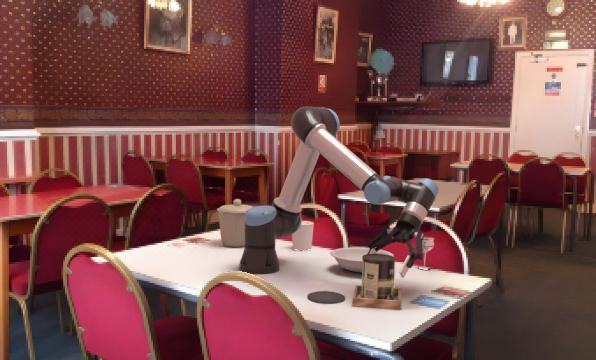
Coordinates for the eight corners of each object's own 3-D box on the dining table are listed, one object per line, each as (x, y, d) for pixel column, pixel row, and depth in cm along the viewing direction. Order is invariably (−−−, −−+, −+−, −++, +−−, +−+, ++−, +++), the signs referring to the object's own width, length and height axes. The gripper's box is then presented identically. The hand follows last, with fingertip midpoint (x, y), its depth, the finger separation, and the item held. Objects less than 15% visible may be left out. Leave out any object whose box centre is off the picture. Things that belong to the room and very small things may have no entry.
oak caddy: (352, 306, 175) (352, 298, 175) (355, 292, 190) (355, 285, 189) (400, 309, 173) (401, 301, 173) (400, 295, 187) (400, 288, 187)
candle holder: (313, 251, 251) (313, 224, 250) (290, 251, 251) (291, 224, 250) (312, 247, 261) (313, 221, 259) (291, 246, 261) (291, 220, 260)
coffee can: (394, 297, 185) (396, 254, 184) (392, 307, 175) (394, 261, 174) (362, 295, 187) (363, 252, 186) (359, 304, 177) (360, 259, 176)
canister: (232, 251, 248) (232, 202, 246) (208, 244, 261) (209, 198, 259) (264, 246, 260) (265, 200, 258) (240, 239, 273) (241, 195, 271)
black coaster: (304, 302, 178) (304, 300, 178) (310, 291, 190) (310, 289, 190) (343, 305, 176) (343, 303, 176) (346, 294, 188) (346, 292, 188)
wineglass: (412, 267, 228) (413, 237, 227) (426, 266, 230) (428, 236, 229) (421, 271, 221) (422, 240, 220) (436, 270, 224) (437, 239, 223)
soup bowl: (318, 266, 224) (318, 250, 224) (368, 261, 236) (368, 245, 235) (353, 281, 203) (354, 263, 203) (406, 274, 215) (407, 257, 215)
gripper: (449, 231, 184) (421, 285, 174) (384, 221, 201) (356, 270, 192) (441, 216, 179) (412, 271, 170) (376, 207, 197) (347, 257, 187)
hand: (383, 271), depth 181 cm, fingers open, 13 cm apart
